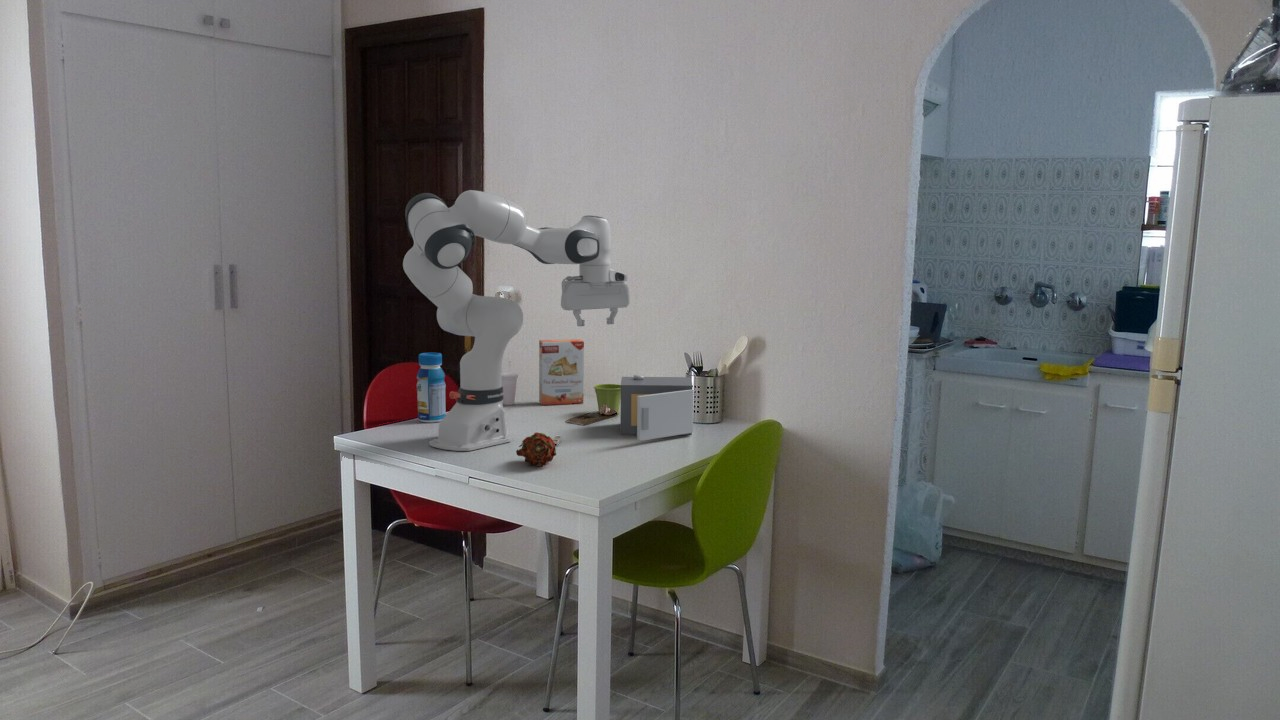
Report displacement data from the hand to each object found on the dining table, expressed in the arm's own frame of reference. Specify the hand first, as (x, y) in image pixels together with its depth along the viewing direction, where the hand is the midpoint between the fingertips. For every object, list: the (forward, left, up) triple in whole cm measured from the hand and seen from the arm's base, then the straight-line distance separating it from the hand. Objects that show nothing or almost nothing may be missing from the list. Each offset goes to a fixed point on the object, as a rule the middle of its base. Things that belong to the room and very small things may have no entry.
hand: (595, 325), depth 257 cm
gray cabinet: (+12, -12, -30) cm, 35 cm away
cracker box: (+29, +33, -31) cm, 53 cm away
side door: (+2, -22, -29) cm, 37 cm away
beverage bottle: (-13, +50, -31) cm, 60 cm away
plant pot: (+23, +11, -31) cm, 40 cm away
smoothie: (+19, +47, -31) cm, 59 cm away
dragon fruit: (-37, -6, -31) cm, 48 cm away
